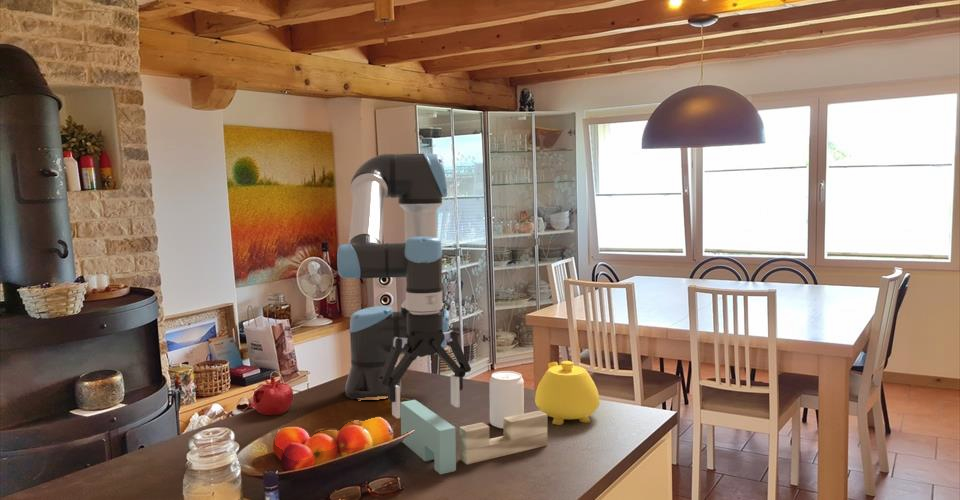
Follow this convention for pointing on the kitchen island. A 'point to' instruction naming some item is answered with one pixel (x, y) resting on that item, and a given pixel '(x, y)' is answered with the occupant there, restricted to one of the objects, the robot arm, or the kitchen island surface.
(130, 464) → the kitchen island surface
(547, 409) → the teapot
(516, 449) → the birch rail
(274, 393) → the pomegranate
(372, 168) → the robot arm
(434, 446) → the teal board
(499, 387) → the beverage can
